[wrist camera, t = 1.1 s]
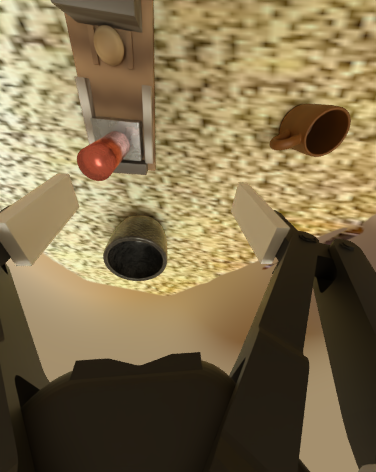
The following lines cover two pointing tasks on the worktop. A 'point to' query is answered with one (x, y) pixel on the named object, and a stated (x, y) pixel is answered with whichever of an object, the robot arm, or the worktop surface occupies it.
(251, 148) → the worktop surface
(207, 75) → the worktop surface
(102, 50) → the walnut
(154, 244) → the planter
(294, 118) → the mug
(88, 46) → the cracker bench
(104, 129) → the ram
